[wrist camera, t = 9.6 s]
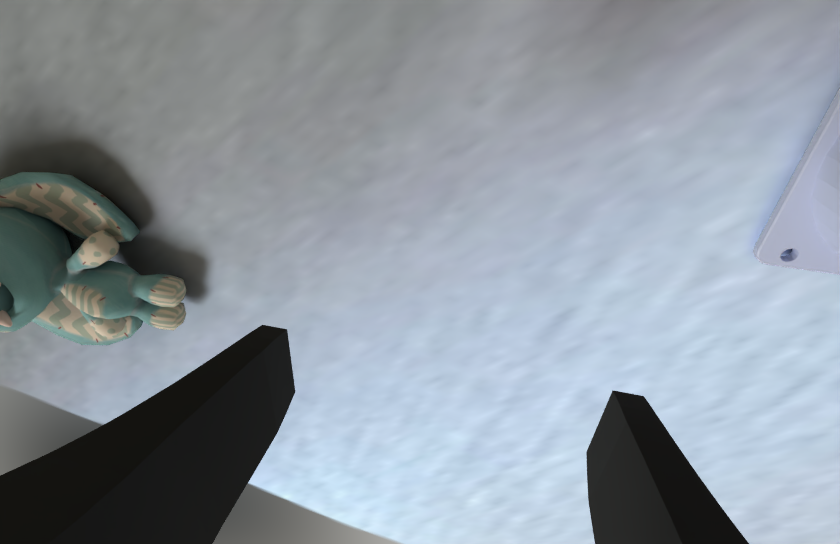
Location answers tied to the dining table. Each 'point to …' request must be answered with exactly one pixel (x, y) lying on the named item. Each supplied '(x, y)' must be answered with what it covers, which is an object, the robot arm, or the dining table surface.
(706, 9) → the dining table surface
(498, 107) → the dining table surface
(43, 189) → the stuffed animal
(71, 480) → the robot arm
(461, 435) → the dining table surface
